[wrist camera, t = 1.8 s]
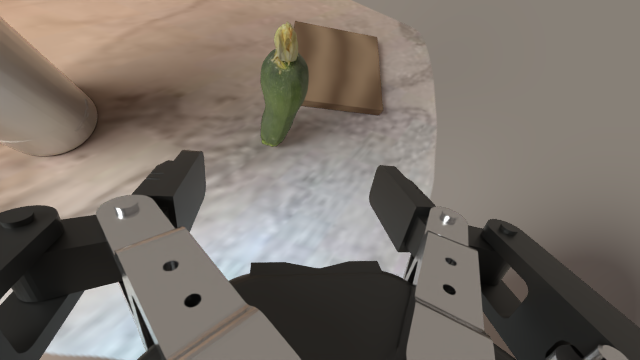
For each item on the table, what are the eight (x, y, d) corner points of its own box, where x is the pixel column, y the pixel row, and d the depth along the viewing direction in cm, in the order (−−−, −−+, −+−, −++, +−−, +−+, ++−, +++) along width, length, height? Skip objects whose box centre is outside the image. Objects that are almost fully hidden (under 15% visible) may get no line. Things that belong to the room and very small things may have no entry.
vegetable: (270, 120, 36) (282, -23, 17) (296, 135, 36) (337, 11, 17) (253, 145, 34) (247, 17, 16) (282, 160, 35) (308, 53, 16)
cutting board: (291, 104, 37) (292, 98, 36) (293, 28, 41) (294, 21, 40) (378, 115, 40) (383, 110, 39) (373, 44, 44) (377, 37, 43)
